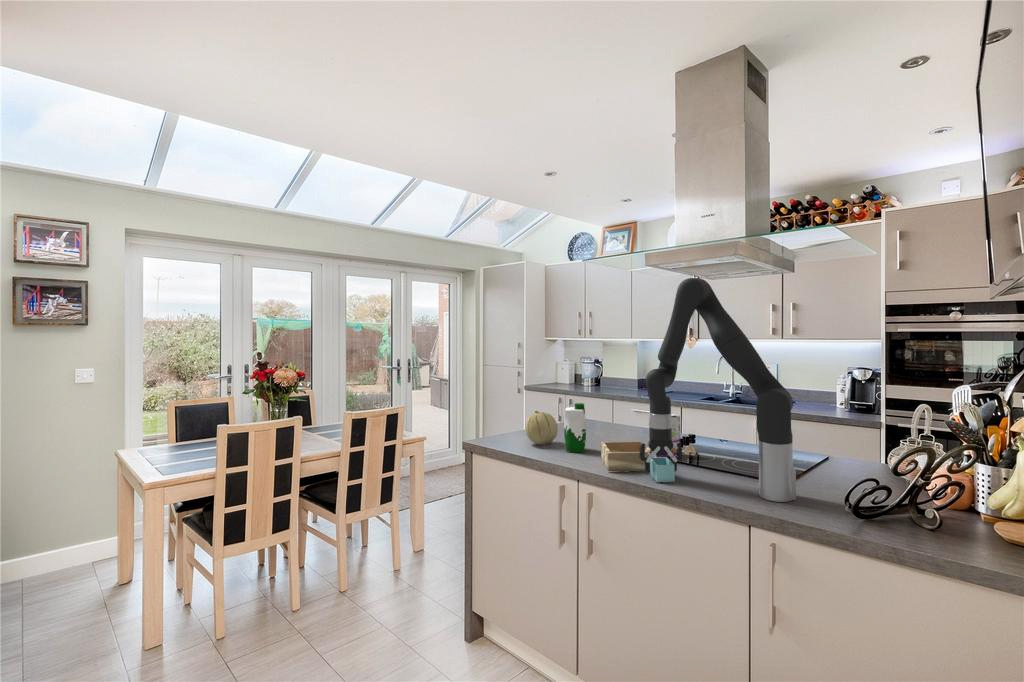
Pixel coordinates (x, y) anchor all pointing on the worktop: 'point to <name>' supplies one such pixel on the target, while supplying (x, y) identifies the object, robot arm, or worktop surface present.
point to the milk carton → (575, 428)
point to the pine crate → (623, 456)
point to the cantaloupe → (541, 428)
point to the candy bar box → (674, 433)
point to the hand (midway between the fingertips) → (660, 472)
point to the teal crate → (662, 469)
